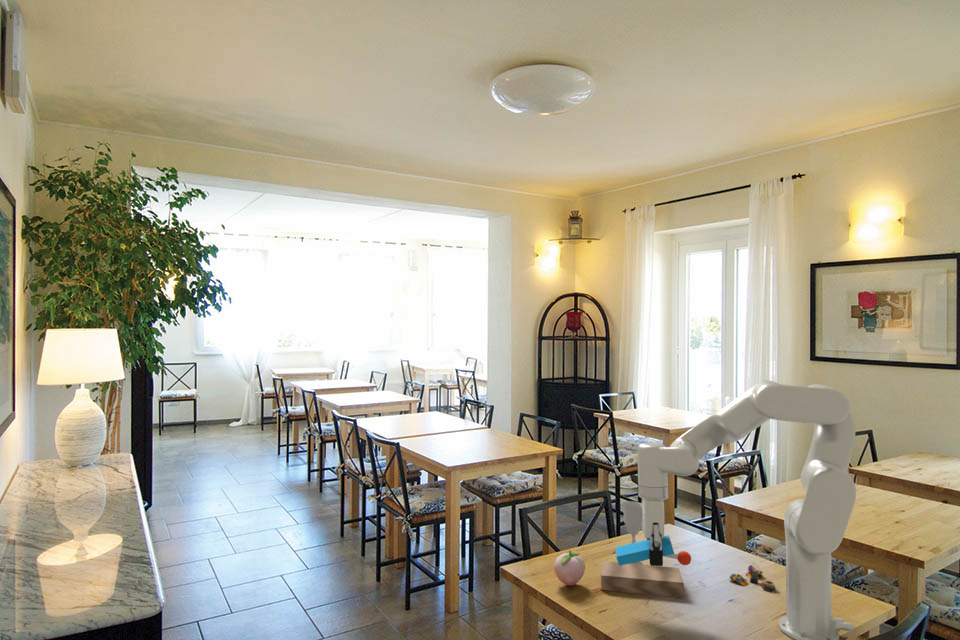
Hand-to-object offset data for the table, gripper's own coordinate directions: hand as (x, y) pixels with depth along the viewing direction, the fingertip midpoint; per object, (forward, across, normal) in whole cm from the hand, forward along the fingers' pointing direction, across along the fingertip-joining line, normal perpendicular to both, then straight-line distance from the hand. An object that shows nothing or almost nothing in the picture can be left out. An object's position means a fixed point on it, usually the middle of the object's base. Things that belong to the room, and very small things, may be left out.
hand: (654, 558), depth 150 cm
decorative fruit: (+13, -9, -23) cm, 28 cm away
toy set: (+15, -22, +30) cm, 40 cm away
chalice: (+13, -30, -4) cm, 33 cm away
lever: (+1, 0, 0) cm, 1 cm away
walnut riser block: (+13, -14, -3) cm, 19 cm away
